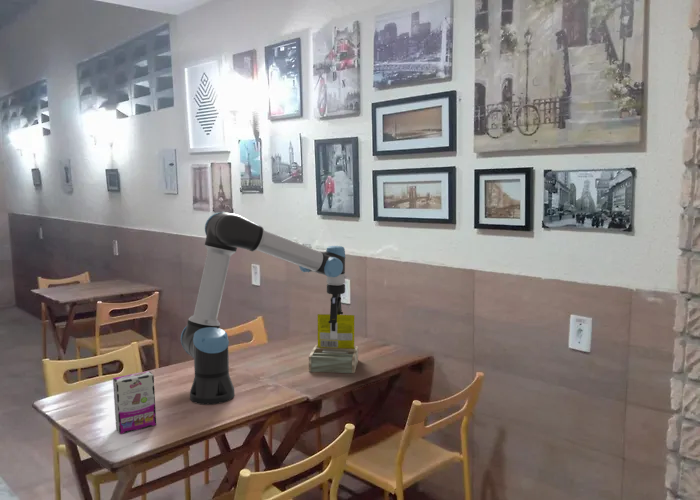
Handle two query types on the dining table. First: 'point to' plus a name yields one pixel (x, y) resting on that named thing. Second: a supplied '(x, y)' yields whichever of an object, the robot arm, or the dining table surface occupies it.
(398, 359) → the dining table surface
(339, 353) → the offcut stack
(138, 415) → the candy bar box
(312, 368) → the rack
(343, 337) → the food package
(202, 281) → the robot arm
